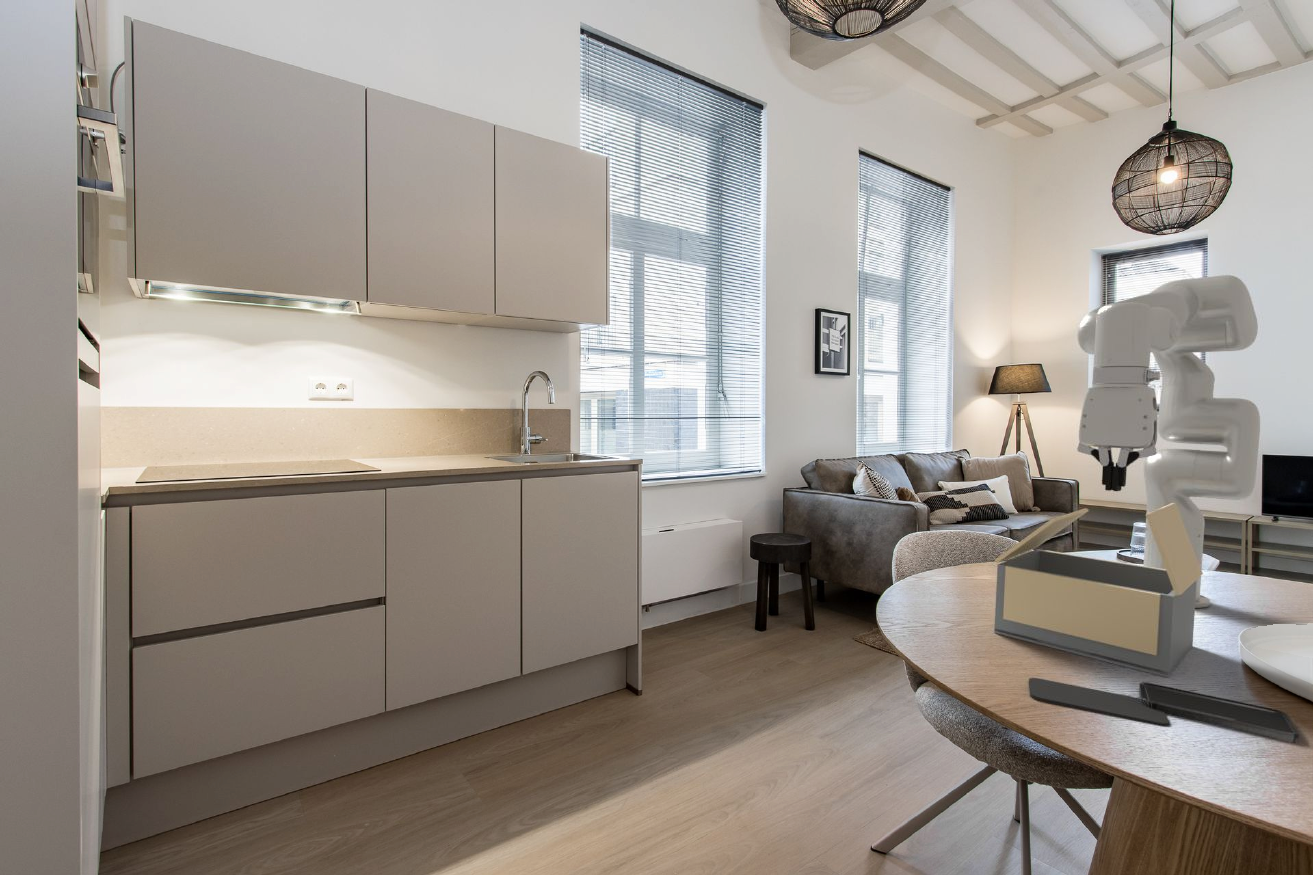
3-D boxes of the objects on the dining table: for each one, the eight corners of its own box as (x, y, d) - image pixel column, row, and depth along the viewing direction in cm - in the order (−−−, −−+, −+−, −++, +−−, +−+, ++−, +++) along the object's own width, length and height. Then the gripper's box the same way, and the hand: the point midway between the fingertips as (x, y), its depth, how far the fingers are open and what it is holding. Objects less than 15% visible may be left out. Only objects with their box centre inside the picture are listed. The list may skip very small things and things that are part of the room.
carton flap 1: (1035, 548, 124) (1032, 545, 125) (1088, 510, 118) (1086, 508, 118) (996, 562, 111) (994, 560, 112) (1054, 521, 105) (1051, 518, 105)
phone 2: (1139, 680, 90) (1286, 711, 82) (1138, 688, 90) (1285, 720, 82) (1141, 700, 84) (1302, 736, 75) (1141, 709, 84) (1301, 745, 75)
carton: (1034, 609, 125) (1037, 548, 125) (1193, 645, 108) (1197, 574, 107) (992, 633, 111) (996, 564, 111) (1167, 678, 93) (1172, 597, 93)
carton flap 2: (1171, 503, 109) (1175, 502, 109) (1198, 574, 106) (1202, 573, 106) (1145, 514, 96) (1150, 513, 95) (1175, 595, 93) (1180, 594, 93)
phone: (1172, 725, 79) (1030, 695, 86) (1171, 732, 79) (1030, 702, 86) (1158, 701, 85) (1028, 675, 92) (1158, 707, 85) (1027, 681, 92)
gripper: (1182, 380, 103) (1174, 494, 104) (1074, 381, 114) (1068, 484, 115) (1173, 377, 98) (1165, 497, 98) (1061, 379, 109) (1055, 486, 109)
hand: (1113, 490), depth 107 cm, fingers closed
